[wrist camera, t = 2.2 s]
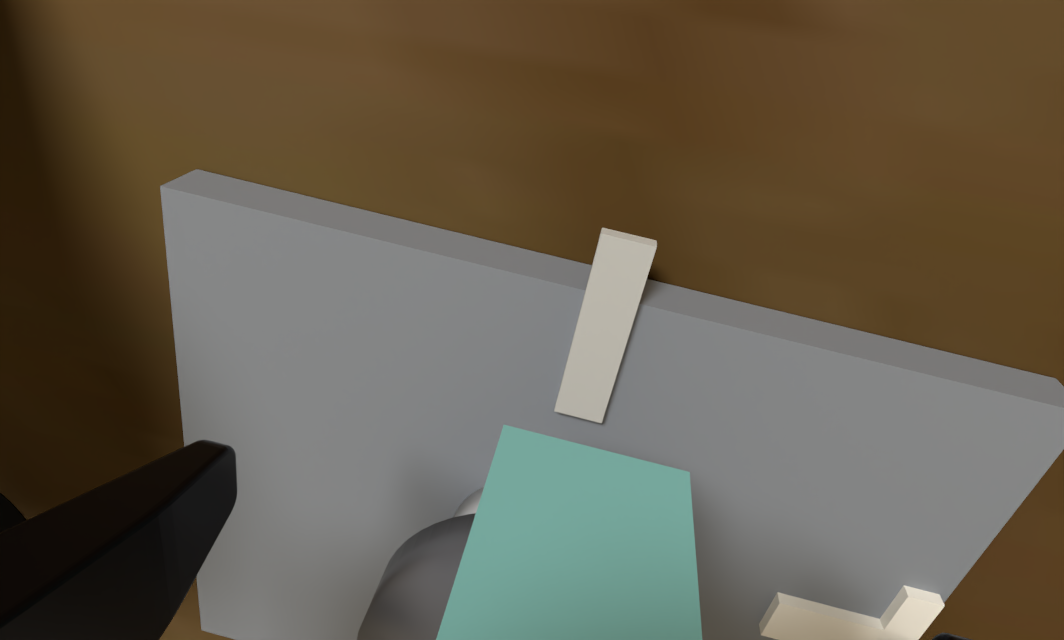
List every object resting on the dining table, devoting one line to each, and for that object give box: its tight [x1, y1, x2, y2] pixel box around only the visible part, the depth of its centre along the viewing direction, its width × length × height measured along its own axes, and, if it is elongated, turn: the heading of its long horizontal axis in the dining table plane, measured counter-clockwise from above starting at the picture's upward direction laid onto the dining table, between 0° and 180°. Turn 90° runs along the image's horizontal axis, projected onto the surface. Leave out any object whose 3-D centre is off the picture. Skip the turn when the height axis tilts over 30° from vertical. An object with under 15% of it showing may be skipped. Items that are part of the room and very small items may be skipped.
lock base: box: [160, 169, 1064, 640], centre depth 15 cm, size 18×15×3 cm
